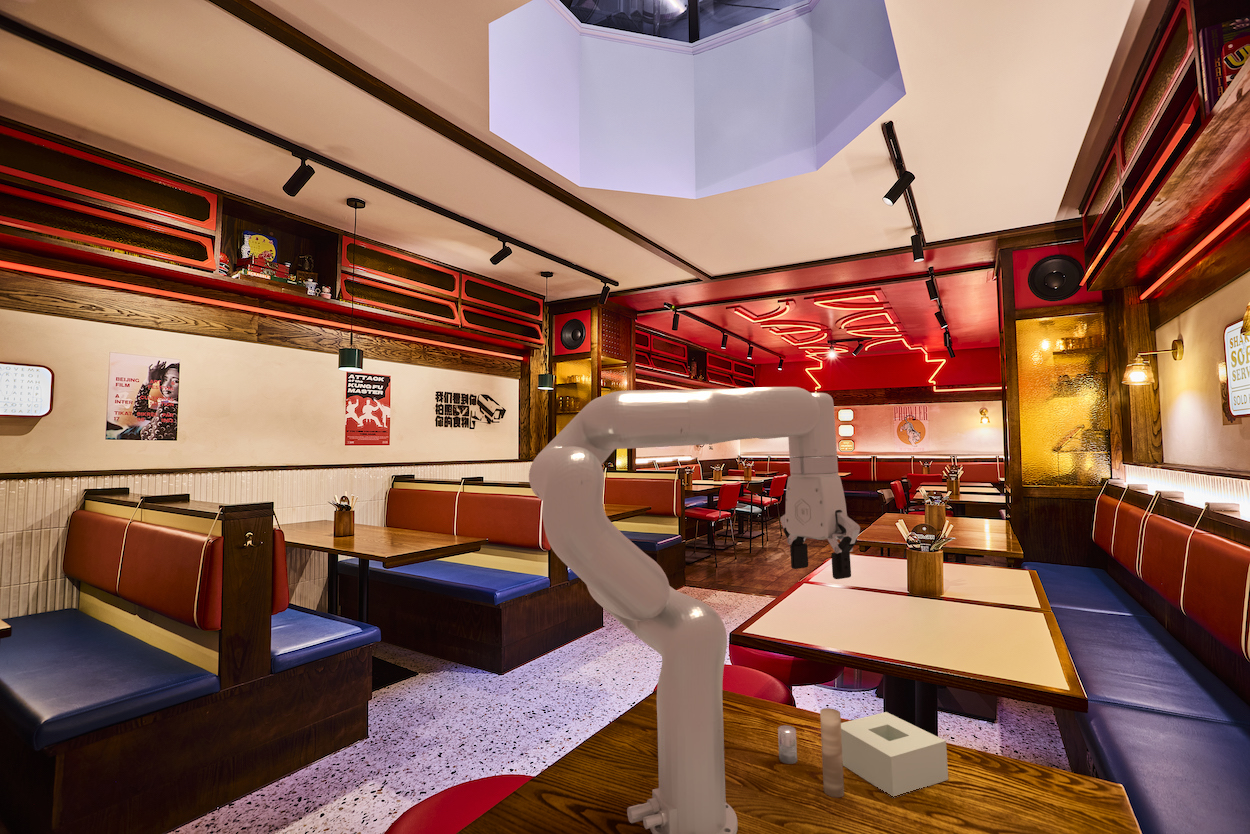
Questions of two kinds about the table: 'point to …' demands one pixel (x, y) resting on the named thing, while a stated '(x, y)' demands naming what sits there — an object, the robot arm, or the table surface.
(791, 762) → the steel stub
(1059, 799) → the table surface
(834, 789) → the birch pin
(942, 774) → the hole block
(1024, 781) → the table surface
